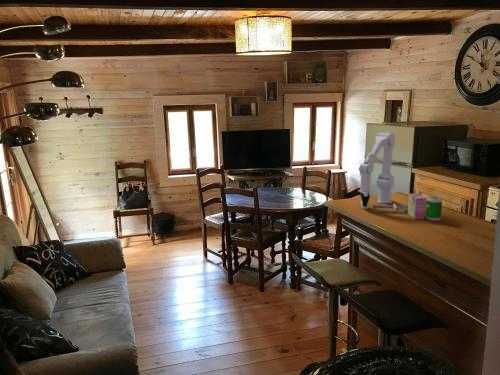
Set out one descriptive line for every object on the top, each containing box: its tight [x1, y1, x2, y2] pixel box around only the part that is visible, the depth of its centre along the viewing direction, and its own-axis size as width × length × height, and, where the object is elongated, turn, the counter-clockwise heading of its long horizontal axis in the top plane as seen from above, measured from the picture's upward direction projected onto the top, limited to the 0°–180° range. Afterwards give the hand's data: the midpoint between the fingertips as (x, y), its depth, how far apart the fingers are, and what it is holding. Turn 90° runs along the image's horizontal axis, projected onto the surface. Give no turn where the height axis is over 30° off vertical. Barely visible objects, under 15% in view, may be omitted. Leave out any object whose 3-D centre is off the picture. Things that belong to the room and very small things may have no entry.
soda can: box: [425, 196, 443, 222], centre depth 222 cm, size 8×8×12 cm
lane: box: [372, 204, 409, 215], centre depth 243 cm, size 13×18×2 cm
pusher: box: [392, 203, 398, 211], centre depth 242 cm, size 10×1×2 cm, turn 167°
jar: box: [360, 197, 370, 210], centre depth 248 cm, size 5×5×6 cm
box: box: [407, 193, 427, 220], centre depth 228 cm, size 10×6×12 cm, turn 179°
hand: (364, 205), depth 249 cm, fingers closed on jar, 5 cm apart
